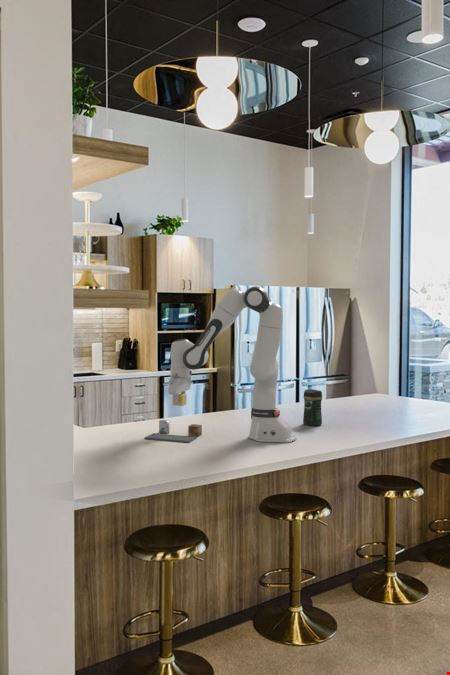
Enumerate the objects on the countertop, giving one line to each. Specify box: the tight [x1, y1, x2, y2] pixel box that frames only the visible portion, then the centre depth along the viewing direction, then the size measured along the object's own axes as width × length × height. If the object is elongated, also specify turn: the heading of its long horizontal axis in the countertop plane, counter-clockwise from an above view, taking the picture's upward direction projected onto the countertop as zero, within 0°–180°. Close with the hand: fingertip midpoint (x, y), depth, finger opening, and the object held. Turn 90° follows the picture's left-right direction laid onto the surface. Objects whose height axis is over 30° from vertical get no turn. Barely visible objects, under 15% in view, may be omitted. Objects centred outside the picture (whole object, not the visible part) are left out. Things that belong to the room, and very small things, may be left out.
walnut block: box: [187, 423, 203, 438], centre depth 310 cm, size 5×5×5 cm
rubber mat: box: [144, 432, 198, 444], centre depth 302 cm, size 22×10×1 cm, turn 72°
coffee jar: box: [302, 389, 323, 427], centre depth 340 cm, size 10×8×19 cm
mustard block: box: [172, 393, 187, 407], centre depth 311 cm, size 5×5×5 cm
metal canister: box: [158, 419, 170, 435], centre depth 314 cm, size 5×5×6 cm
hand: (179, 401), depth 311 cm, fingers closed on mustard block, 5 cm apart
